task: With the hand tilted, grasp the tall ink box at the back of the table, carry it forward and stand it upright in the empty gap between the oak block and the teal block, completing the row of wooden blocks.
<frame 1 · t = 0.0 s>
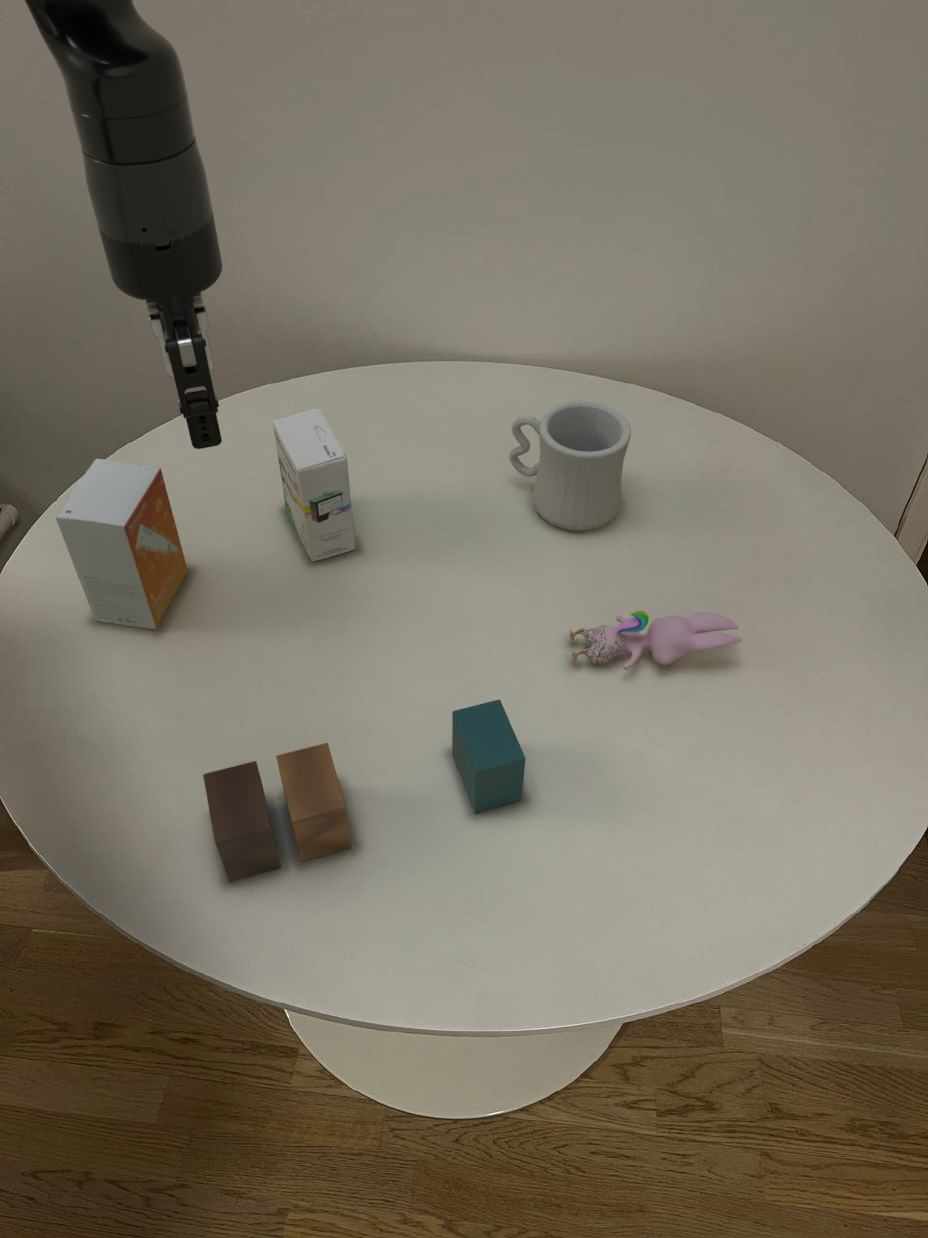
hand: (199, 411, 79), 22 cm above the table, tool pointing down, fingers open, 8 cm apart
small box: (143, 597, 95), on the table
mug: (561, 501, 105), on the table
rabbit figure: (650, 655, 91), on the table
oak block: (318, 822, 79), on the table
walnut block: (248, 841, 78), on the table
teal block: (486, 777, 82), on the table
ink box: (320, 531, 102), on the table
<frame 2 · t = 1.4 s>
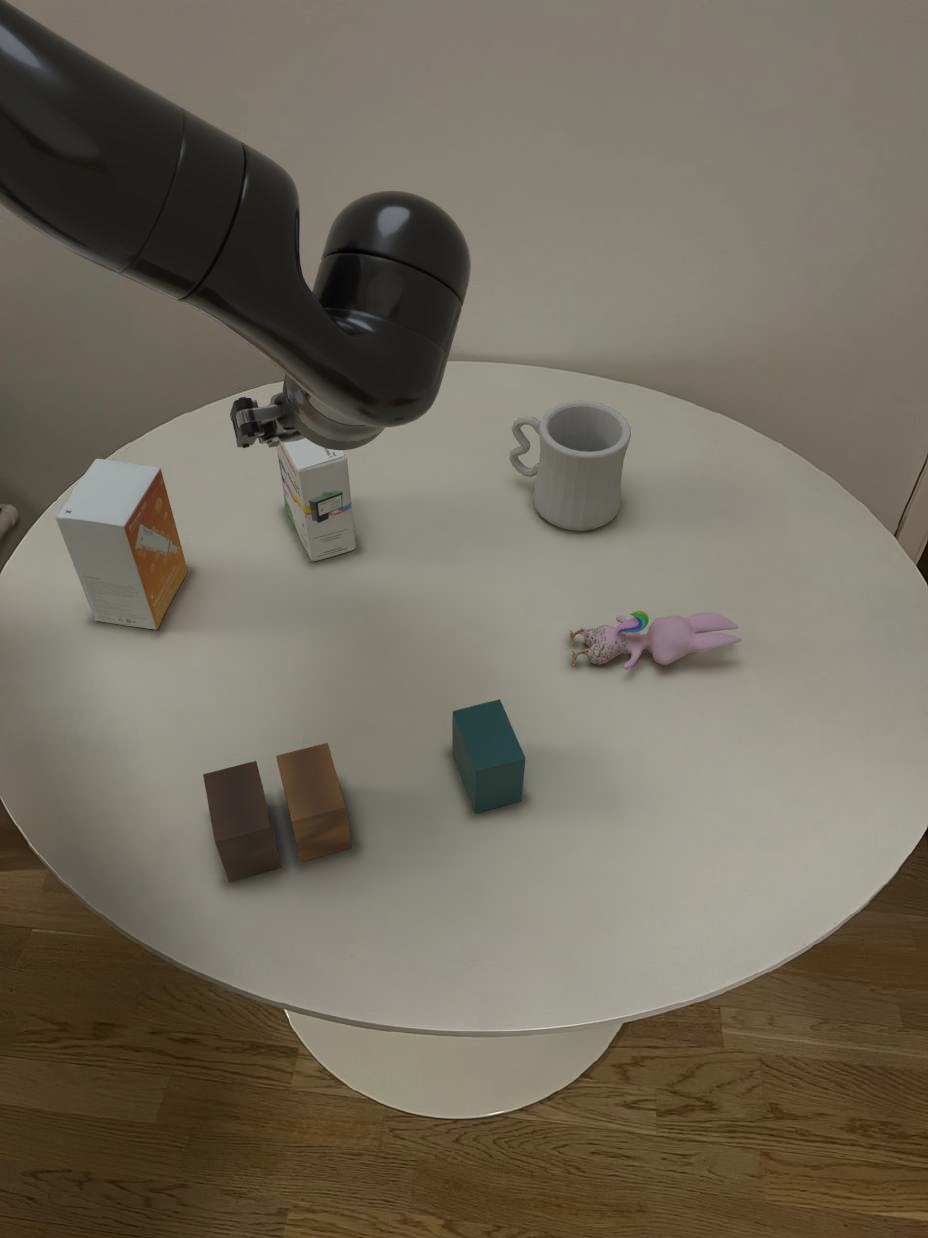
hand: (323, 423, 80), 21 cm above the table, tool tilted 45°, fingers open, 8 cm apart
nothing on the table moved.
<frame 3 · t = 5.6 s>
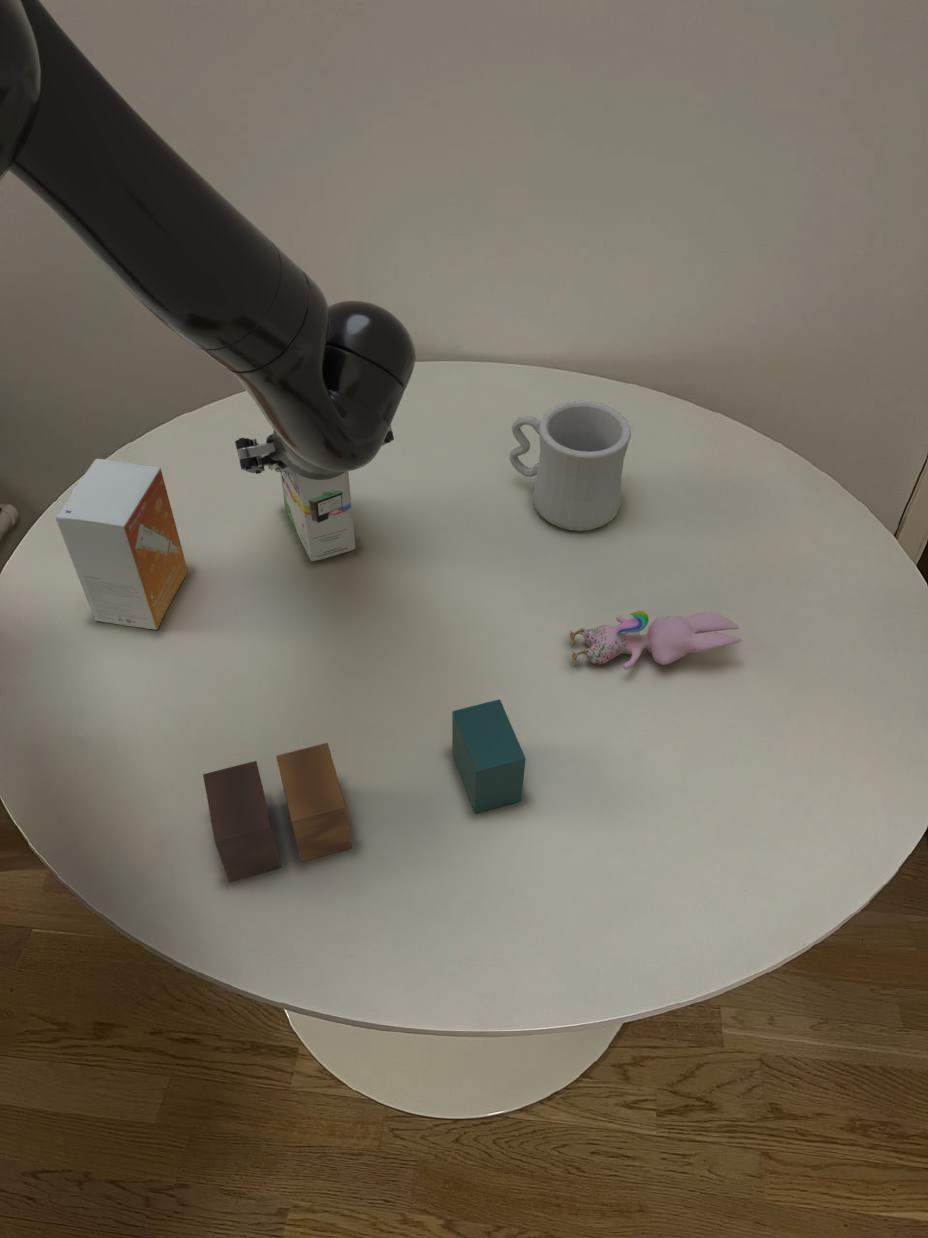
hand: (307, 454, 97), 8 cm above the table, tool tilted 45°, fingers closed on ink box, 5 cm apart
ink box: (320, 531, 102), on the table, touching gripper
everything else where it was.
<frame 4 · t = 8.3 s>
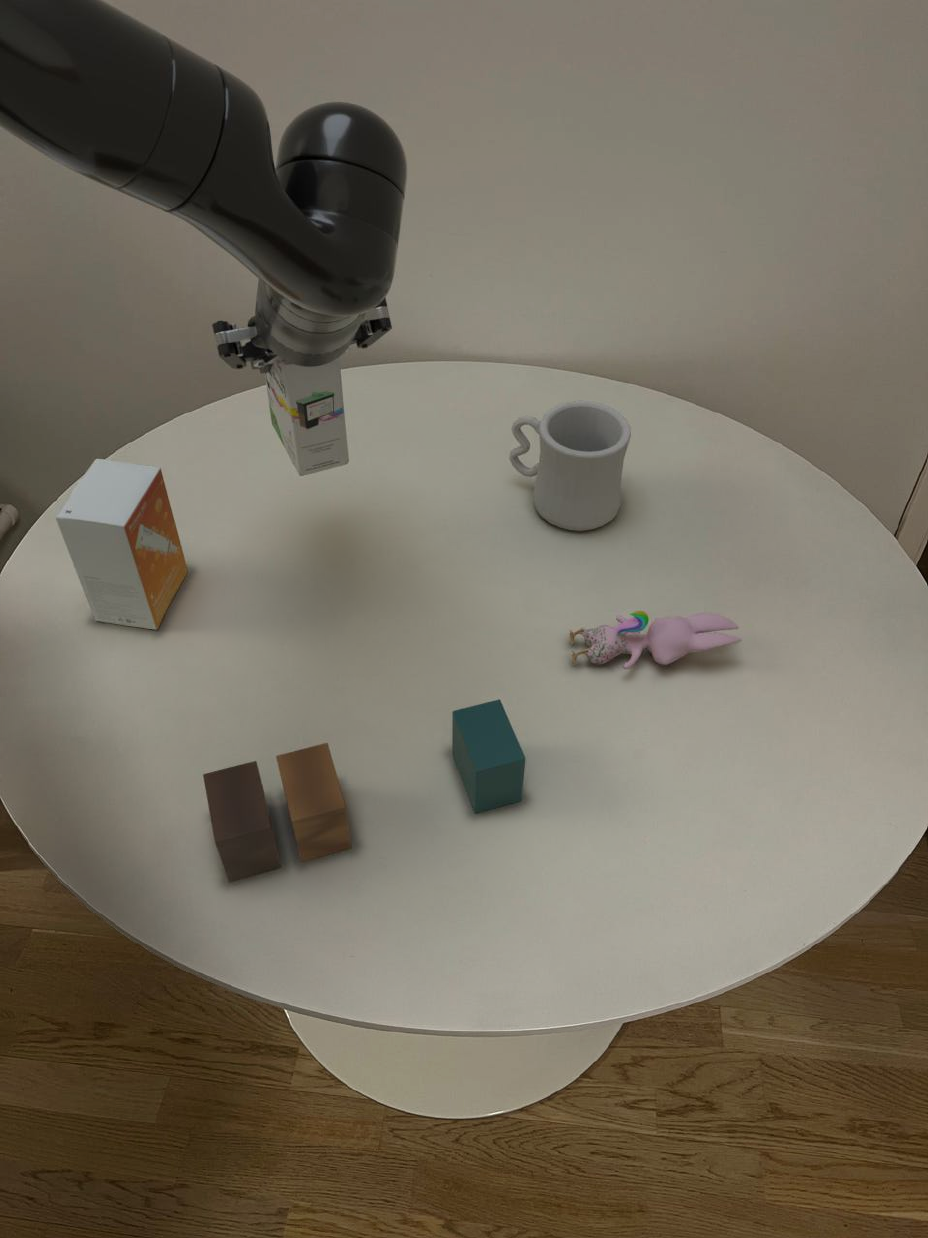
hand: (295, 355, 87), 20 cm above the table, tool tilted 45°, fingers closed on ink box, 5 cm apart
ink box: (310, 445, 92), point 12 cm above the table, touching gripper
everything else where it was.
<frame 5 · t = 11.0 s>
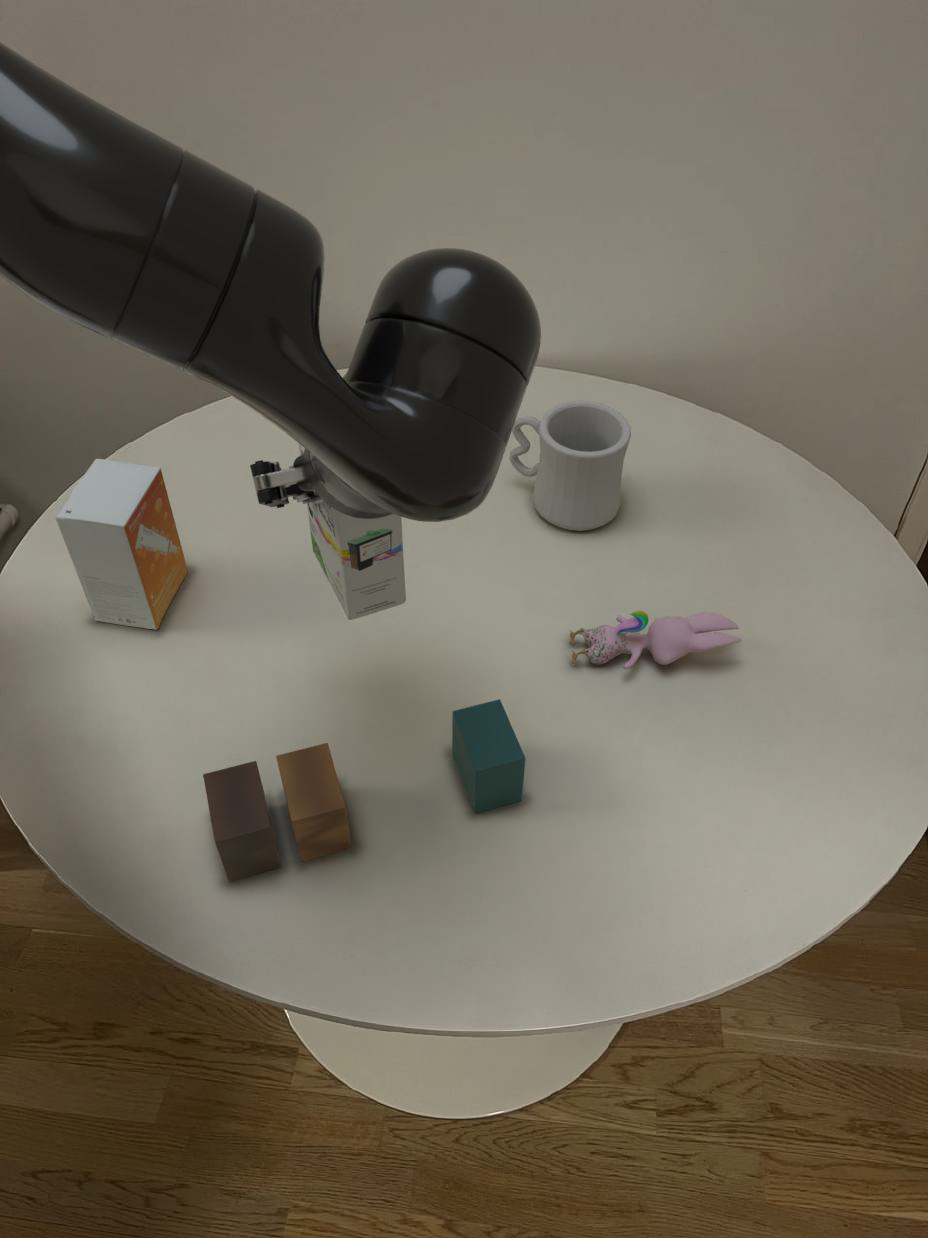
hand: (343, 480, 73), 22 cm above the table, tool tilted 45°, fingers closed on ink box, 5 cm apart
ink box: (358, 578, 78), point 14 cm above the table, touching gripper
everything else where it was.
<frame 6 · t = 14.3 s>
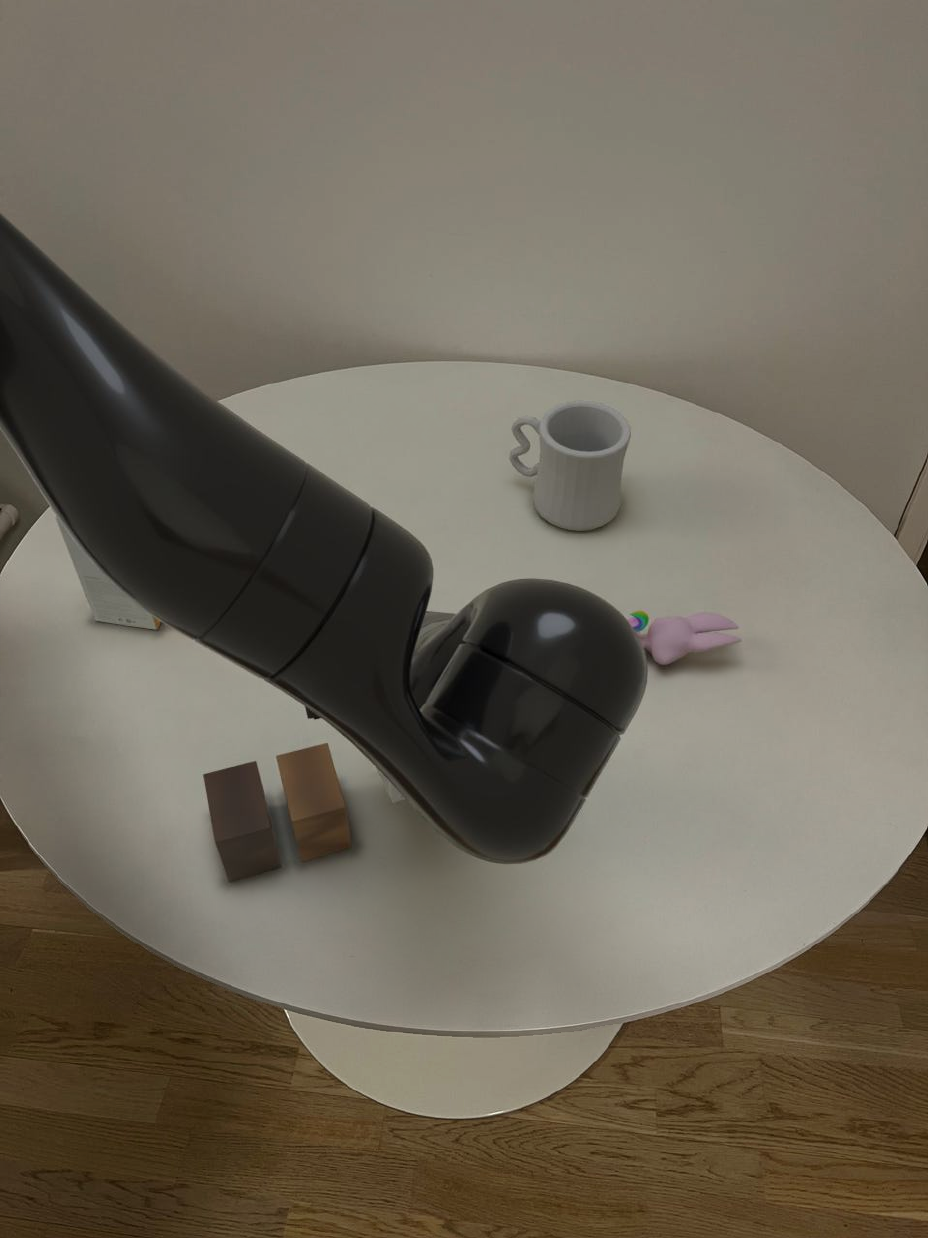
hand: (389, 661, 70), 15 cm above the table, tool tilted 45°, fingers closed on ink box, 5 cm apart
ink box: (401, 751, 75), point 7 cm above the table, touching gripper
everything else where it was.
when the fingers open (8 cm above the table, at t = 16.8 s): ink box stays where it is, on the table.
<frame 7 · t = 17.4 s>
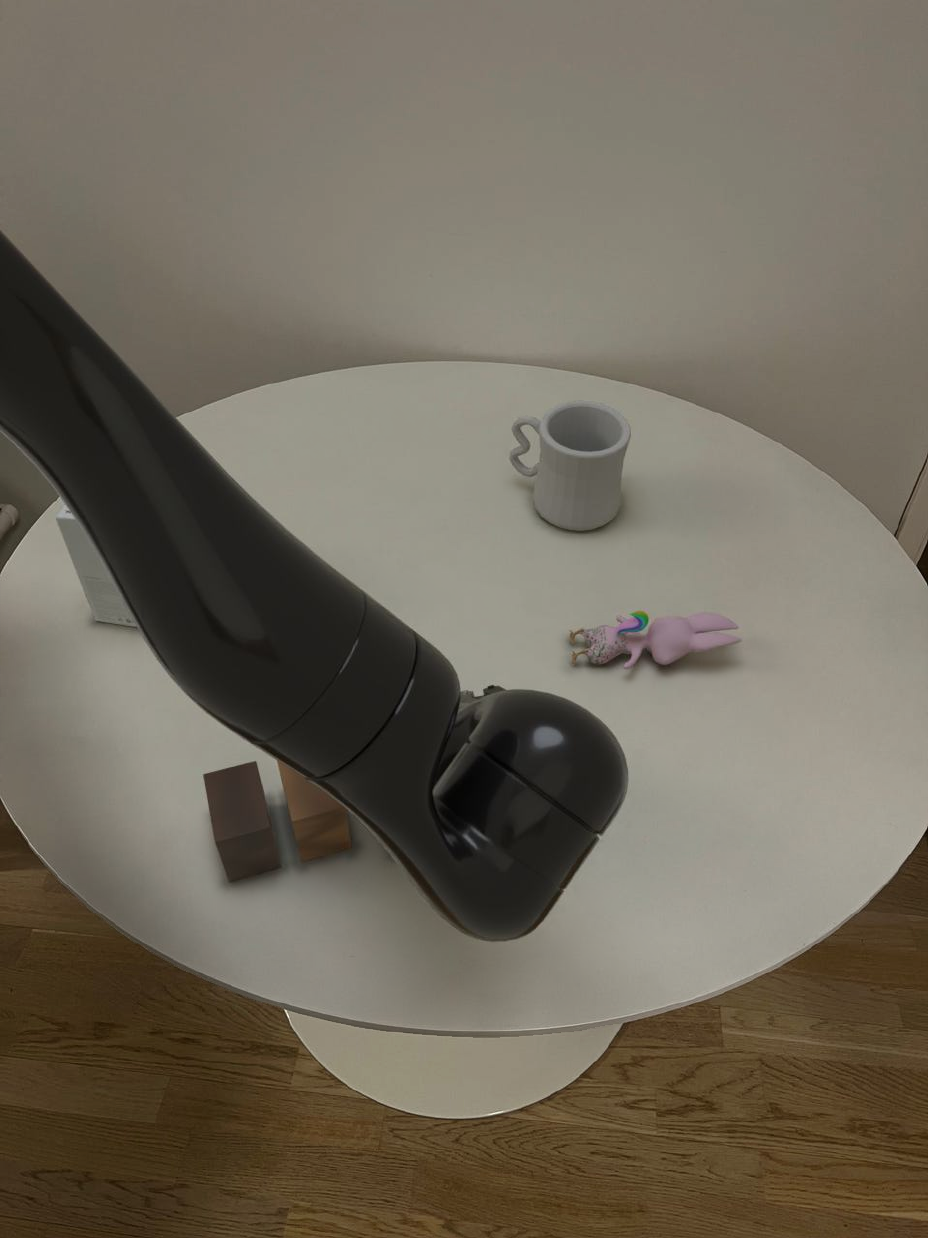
hand: (394, 717, 75), 9 cm above the table, tool tilted 45°, fingers open, 8 cm apart
ink box: (404, 802, 81), on the table
everything else where it was.
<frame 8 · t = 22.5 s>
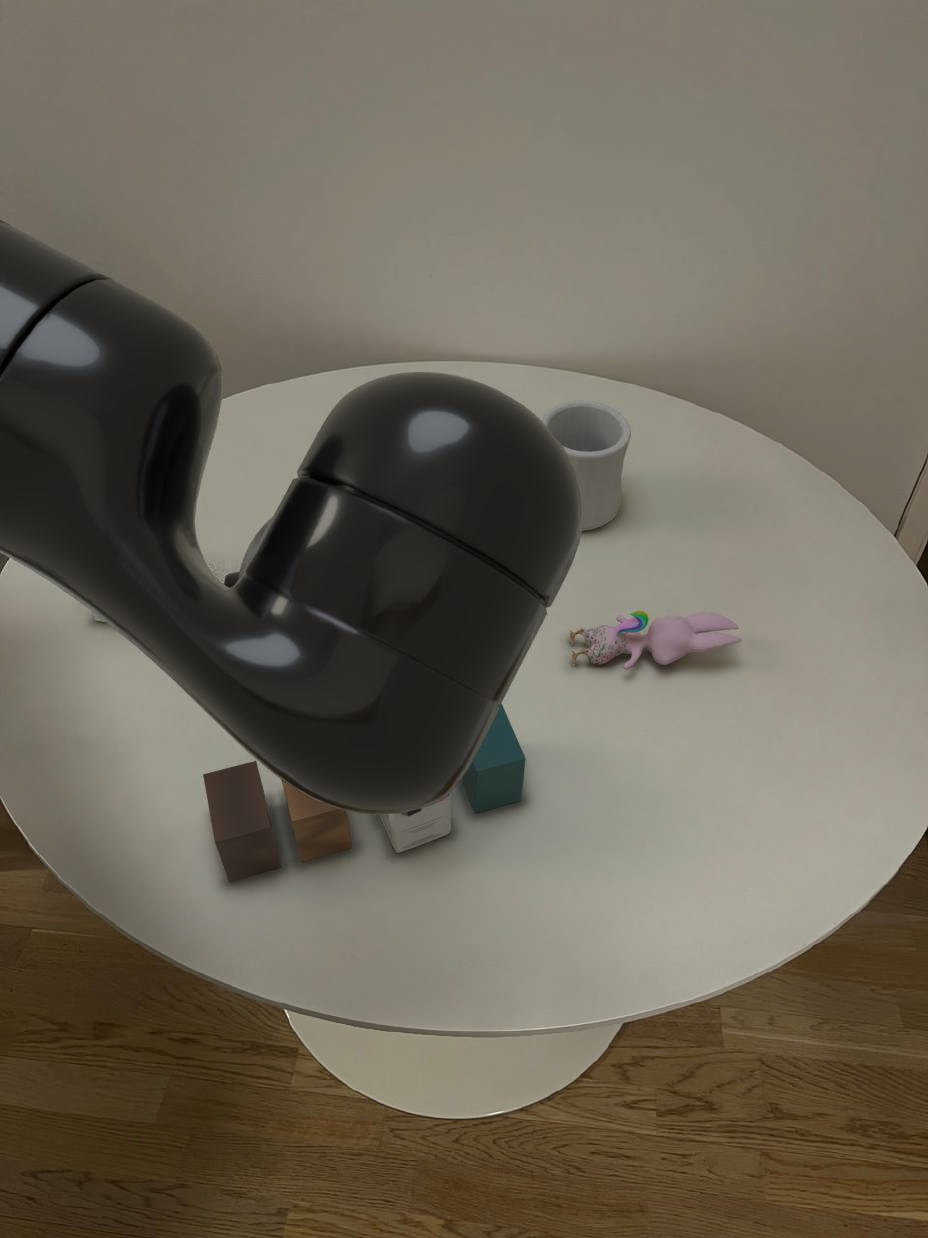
hand: (304, 590, 56), 29 cm above the table, tool tilted 45°, fingers open, 8 cm apart
nothing on the table moved.
at the end: ink box 0.2 cm from the target spot on the table beside the oak block, on the table; ink box tilted 0°; the gripper is holding nothing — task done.
